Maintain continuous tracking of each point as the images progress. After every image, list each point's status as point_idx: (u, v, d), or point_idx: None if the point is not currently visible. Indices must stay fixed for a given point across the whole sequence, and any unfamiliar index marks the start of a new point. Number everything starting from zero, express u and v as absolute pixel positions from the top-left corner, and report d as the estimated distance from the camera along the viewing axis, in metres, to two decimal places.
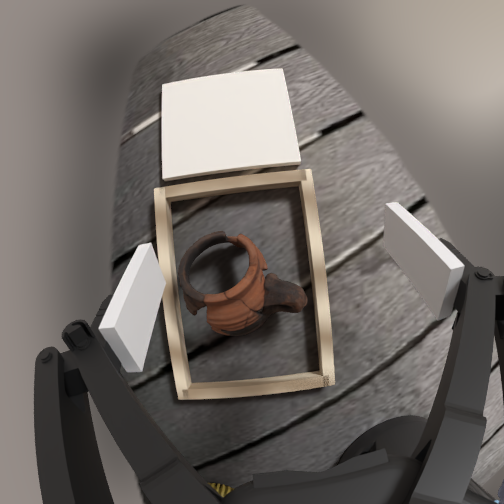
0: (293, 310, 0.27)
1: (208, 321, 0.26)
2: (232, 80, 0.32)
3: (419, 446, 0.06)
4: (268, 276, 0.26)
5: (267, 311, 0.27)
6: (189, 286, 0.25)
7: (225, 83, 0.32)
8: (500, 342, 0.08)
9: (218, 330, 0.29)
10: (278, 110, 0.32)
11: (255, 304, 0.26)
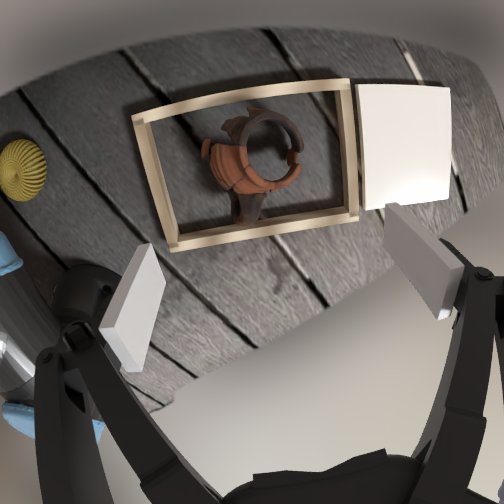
0: (234, 215, 0.31)
1: (217, 145, 0.26)
2: (443, 154, 0.31)
3: (419, 446, 0.06)
4: (264, 195, 0.29)
5: (231, 192, 0.30)
6: (251, 128, 0.25)
7: (442, 147, 0.31)
8: (500, 343, 0.08)
9: (206, 145, 0.29)
10: (411, 192, 0.34)
11: (239, 188, 0.28)
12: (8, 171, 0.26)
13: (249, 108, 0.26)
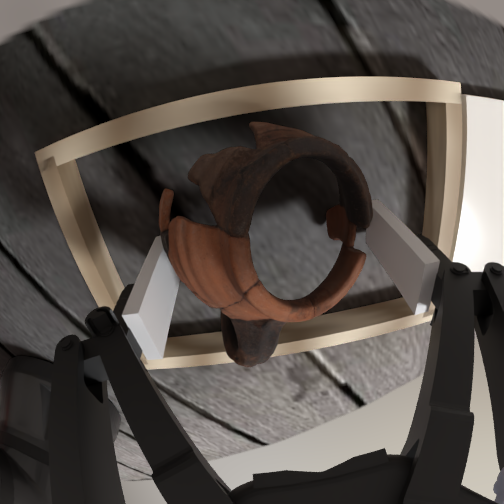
0: (227, 341, 0.16)
1: (180, 222, 0.11)
2: None
3: (407, 445, 0.06)
4: None
5: None
6: (263, 185, 0.10)
7: None
8: (482, 339, 0.09)
9: (164, 207, 0.14)
10: None
11: (233, 314, 0.13)
12: None
13: (255, 125, 0.11)
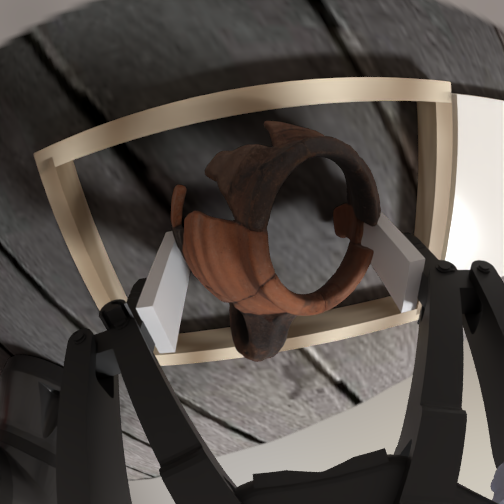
0: (236, 336, 0.16)
1: (196, 217, 0.11)
2: None
3: (400, 445, 0.07)
4: None
5: None
6: (282, 181, 0.10)
7: None
8: (472, 338, 0.09)
9: (177, 203, 0.14)
10: (495, 266, 0.19)
11: (246, 308, 0.13)
12: None
13: (270, 124, 0.12)
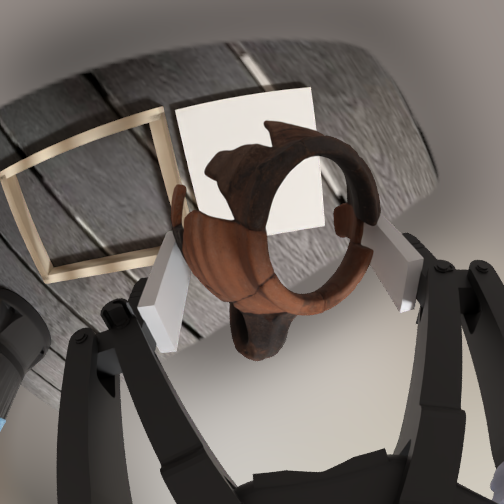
0: (236, 335, 0.16)
1: (196, 216, 0.11)
2: (308, 173, 0.30)
3: (399, 445, 0.07)
4: None
5: None
6: (281, 181, 0.10)
7: (304, 165, 0.29)
8: (470, 338, 0.09)
9: (177, 202, 0.14)
10: None
11: (246, 307, 0.13)
12: None
13: (270, 123, 0.12)
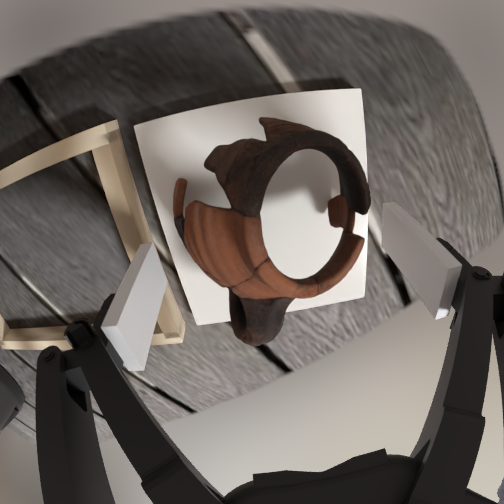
0: (235, 322, 0.17)
1: (196, 205, 0.12)
2: None
3: (418, 446, 0.06)
4: (292, 297, 0.15)
5: None
6: (273, 171, 0.11)
7: None
8: (498, 342, 0.08)
9: (178, 195, 0.15)
10: None
11: (243, 292, 0.14)
12: None
13: (264, 120, 0.13)
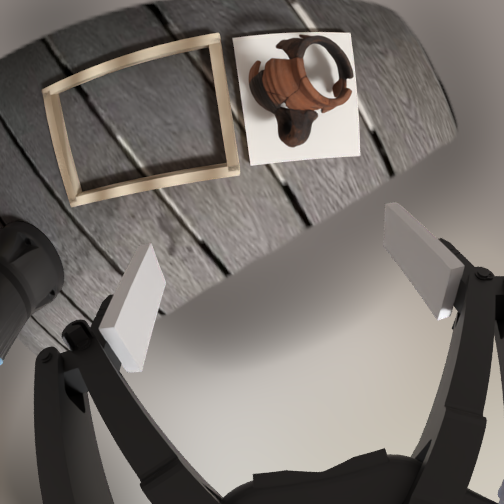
0: (282, 135, 0.28)
1: (272, 59, 0.23)
2: (347, 104, 0.30)
3: (419, 446, 0.06)
4: (316, 113, 0.26)
5: (280, 111, 0.27)
6: (308, 45, 0.22)
7: None
8: (500, 343, 0.08)
9: (256, 66, 0.26)
10: (306, 147, 0.33)
11: (292, 102, 0.25)
12: None
13: None
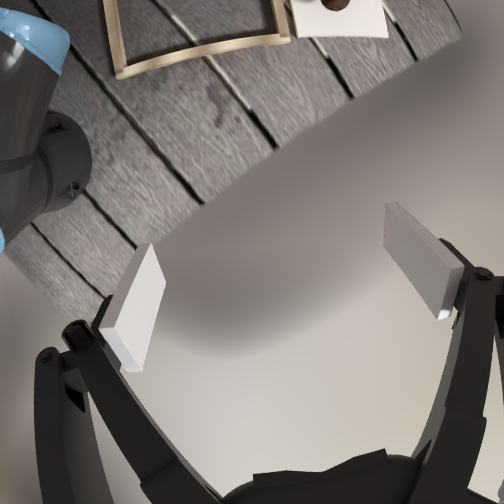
0: (327, 2, 0.25)
1: None
2: None
3: (419, 446, 0.06)
4: None
5: None
6: None
7: None
8: (500, 343, 0.08)
9: None
10: (344, 25, 0.30)
11: None
12: None
13: None
